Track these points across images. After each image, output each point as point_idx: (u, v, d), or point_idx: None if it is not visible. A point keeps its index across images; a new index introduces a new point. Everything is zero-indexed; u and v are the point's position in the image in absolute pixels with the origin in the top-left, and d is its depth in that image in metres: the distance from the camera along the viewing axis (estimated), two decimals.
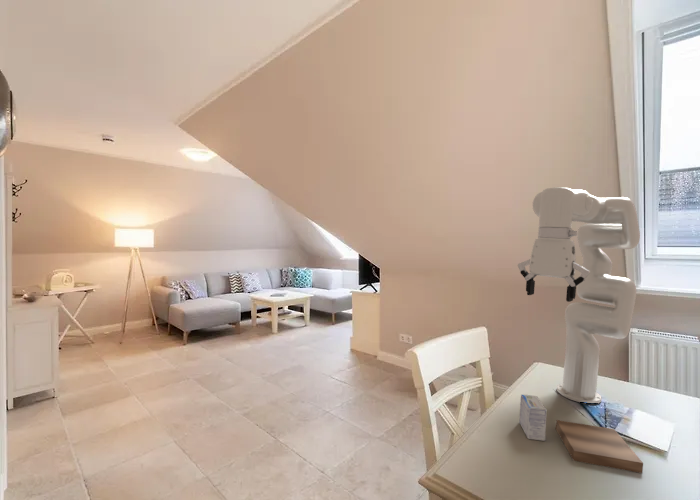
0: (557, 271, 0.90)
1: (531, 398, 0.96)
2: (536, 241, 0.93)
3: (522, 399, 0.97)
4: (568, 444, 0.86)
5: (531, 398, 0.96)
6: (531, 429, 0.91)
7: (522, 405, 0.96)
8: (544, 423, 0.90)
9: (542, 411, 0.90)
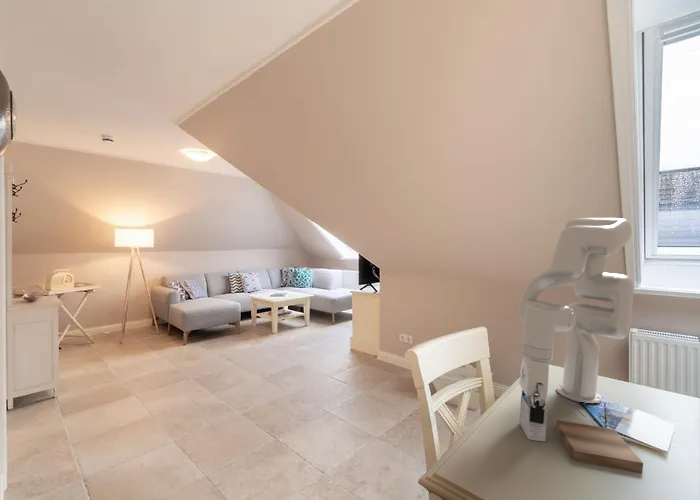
0: None
1: (531, 399, 0.95)
2: (548, 364, 0.89)
3: (522, 400, 0.96)
4: (568, 444, 0.86)
5: None
6: (531, 429, 0.90)
7: (523, 405, 0.95)
8: (544, 424, 0.90)
9: None
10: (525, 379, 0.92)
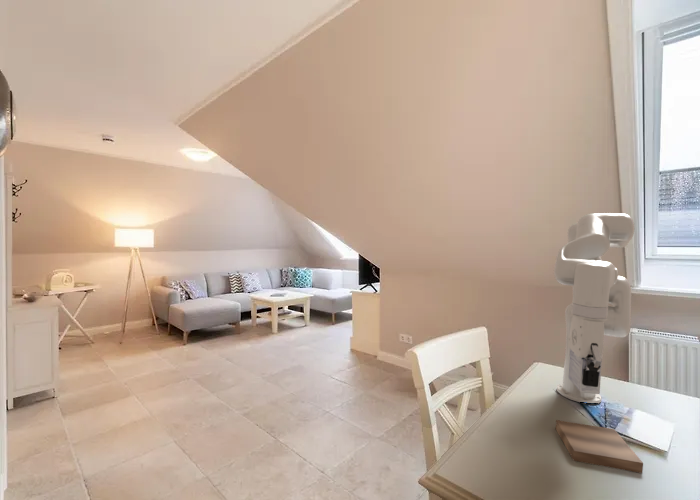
0: None
1: None
2: (603, 324, 0.83)
3: (572, 353, 0.91)
4: (568, 444, 0.86)
5: None
6: None
7: (573, 358, 0.90)
8: (599, 375, 0.84)
9: None
10: (577, 340, 0.86)
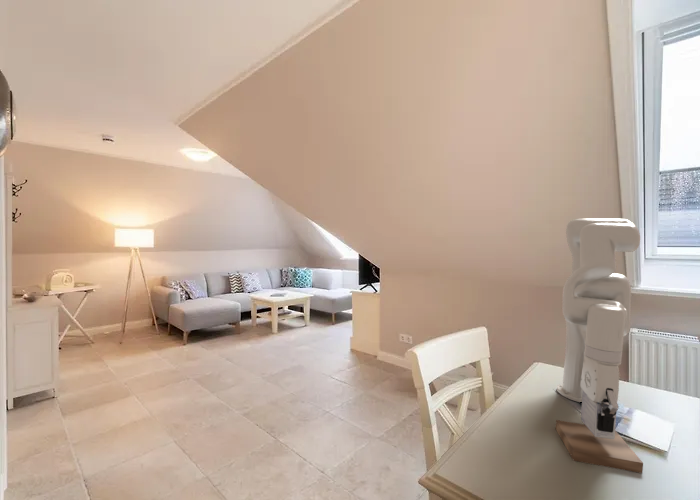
0: None
1: None
2: None
3: (585, 394, 0.90)
4: (568, 444, 0.86)
5: None
6: None
7: (586, 400, 0.89)
8: (614, 420, 0.83)
9: None
10: (591, 384, 0.85)
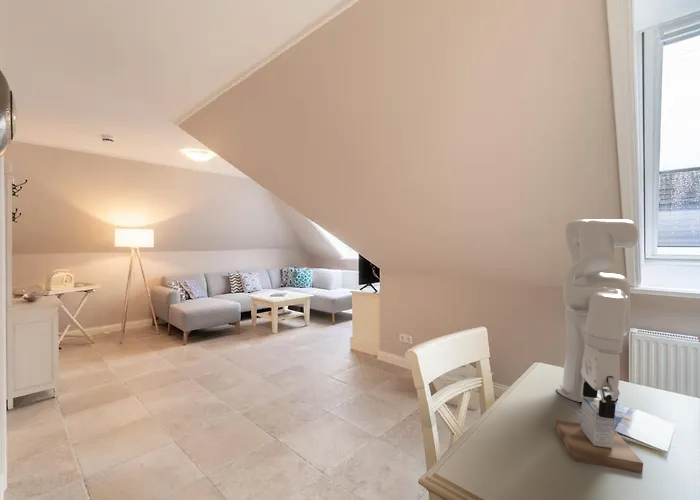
0: None
1: (594, 402, 0.89)
2: None
3: (584, 403, 0.90)
4: (568, 444, 0.86)
5: (595, 402, 0.89)
6: (598, 435, 0.84)
7: (585, 409, 0.89)
8: (612, 429, 0.83)
9: None
10: (592, 372, 0.85)
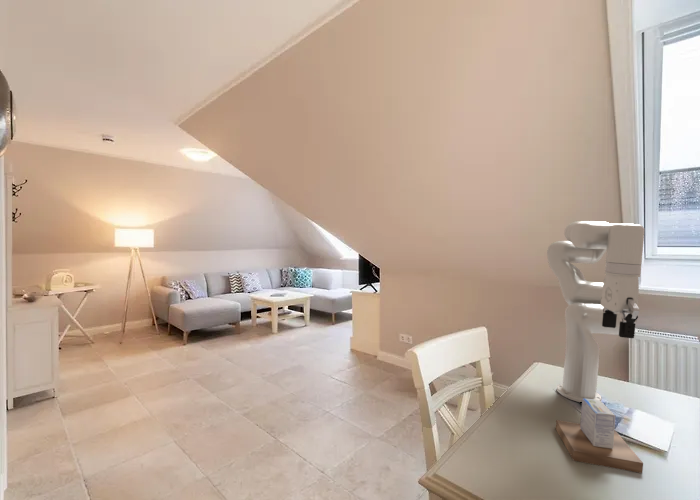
0: None
1: (595, 402, 0.89)
2: None
3: (584, 403, 0.90)
4: (568, 444, 0.86)
5: (595, 402, 0.89)
6: (598, 436, 0.84)
7: (585, 410, 0.89)
8: (612, 430, 0.83)
9: (610, 416, 0.83)
10: (612, 297, 0.92)
